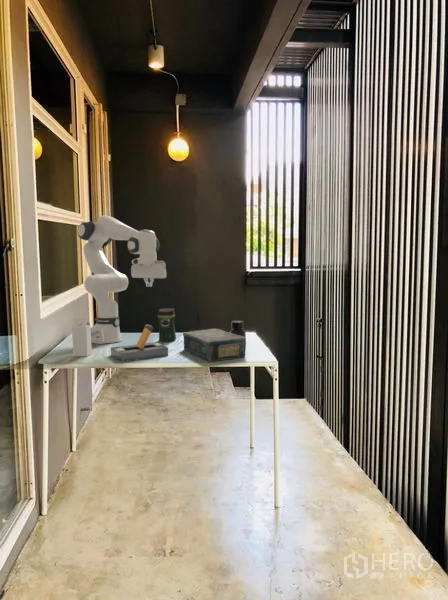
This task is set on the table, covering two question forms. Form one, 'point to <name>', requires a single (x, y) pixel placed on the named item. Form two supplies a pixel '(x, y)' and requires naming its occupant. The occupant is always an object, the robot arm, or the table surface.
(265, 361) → the table surface
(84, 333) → the milk carton
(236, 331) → the ink bottle
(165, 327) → the coffee jar
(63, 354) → the table surface
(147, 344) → the breaker box
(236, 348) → the metal box
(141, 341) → the lever
